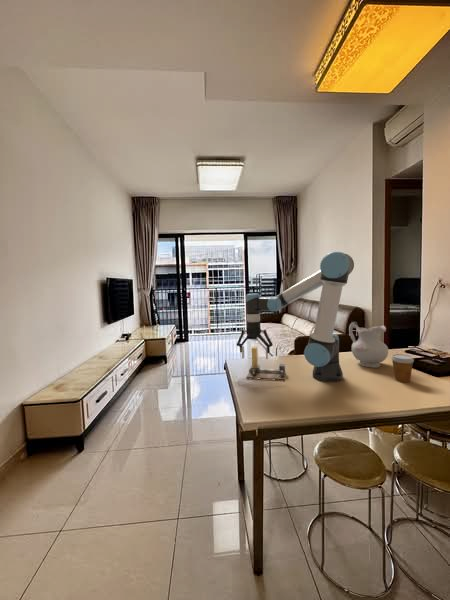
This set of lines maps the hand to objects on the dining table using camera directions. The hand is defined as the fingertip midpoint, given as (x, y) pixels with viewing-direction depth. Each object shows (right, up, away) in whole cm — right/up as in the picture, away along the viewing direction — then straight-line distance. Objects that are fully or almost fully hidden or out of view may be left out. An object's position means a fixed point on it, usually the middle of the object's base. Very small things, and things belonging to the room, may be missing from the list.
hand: (254, 358), depth 151 cm
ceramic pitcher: (+68, -5, +8) cm, 69 cm away
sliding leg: (0, -8, -2) cm, 8 cm away
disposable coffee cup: (+71, -7, -18) cm, 74 cm away
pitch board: (+6, -9, -4) cm, 11 cm away
